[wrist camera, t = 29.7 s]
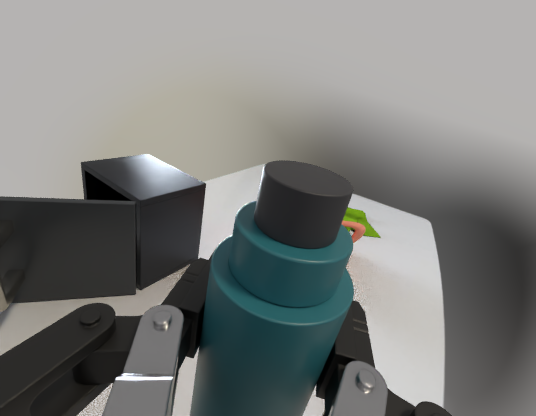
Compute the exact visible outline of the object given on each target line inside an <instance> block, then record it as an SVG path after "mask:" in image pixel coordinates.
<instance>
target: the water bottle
mask: <svg viewBox="0 0 536 416" xmlns="http://www.w3.org/2000/svg"><path fill="white" fill-rule="evenodd" d="M352 193H353V186H352V185H351V183H350V182H349V181H348V180H346V179H345V178H343V177H342V176H340V175H338V174H336V173H334V172H332V171H330V170H327V169H324V168H321V167H318V166H315V165H311V164H307V163H302V162H296V161H273V162H269V163H267V164H266V165H265V166H264V168H263V172H262V177H261V182H260V187H259V192H258V197H257V201H253V202H250V203H248V204H246V205H244V206H243V207H241V208H240V210H239V211H238V212H237V214H236V217H235V223H234V229H233V235H231V236H229V237H228V238H226V239H225V240H223V241H222V242H221V243H220V244H219V245H218V246H217V248H216V249H215V251H214V253H213V255H212V259H211V264H210V272H209V279H208V286H207V294H206V301H205V308H204V316H203V323H202V330H201V338H200V345H199V352H198V360H197V367H196V374H195V382H194V389H193V396H192V404H191V411H190V416H302V415H303V413H304V411H305V408H306V406H307V404H308V402H309V399H310V397H311V395H312V392H313V390H314V388H315V386H316V383H317V381H318V379H319V376H320V374H321V372H322V370H323V367H324V365H325V363H326V360H327V358H328V356H329V354H330V351H331V349H332V347H333V344H334V342H335V340H336V338H337V335H338V333H339V331H340V328H341V326H342V324H343V322H344V319H345V317H346V315H347V312H348V310H349V308H350V305H351V303H352V300H353V295H354V289H353V283H352V279H351V277H350V275H349V273H348V271H347V269H346V265H347V263H348V260H349V258H350V255H351V253H352V250H353V240H352V237H351V235H350V233H349V232H348V230H347V229H346V228H345V227H344V226H343V225H342V221H343V218H344V215H345V213H346V210H347V207H348V204H349V201H350V199H351V196H352Z"/></svg>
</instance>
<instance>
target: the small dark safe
mask: <svg viewBox="0 0 536 416" xmlns="http://www.w3.org/2000/svg"><path fill="white" fill-rule="evenodd" d="M81 168H82V180H83V189H84V200H111V201H135V202H136V286H137V287H138V288H139V289H140V290H142V289H144V288H145V287H147V286H149V285H151V284H153V283H155V282H157V281H159V280H161V279H162V278H164V277H166V276H168V275H170V274H172V273H174V272H176V271H178V270H179V269H181V268H183V267H185V266H187V265H189V264H191V263H193V262H194V261H196V260H198V253H199V244H200V235H201V226H202V216H203V207H204V198H205V188H206V183H204V182H202V181H200V180H198V179H196V178H194V177H192V176H190V175H188V174H186V173H184V172H182V171H180V170H178V169H176V168H174V167H172V166H170V165H168V164H166V163H164V162H162V161H161V160H158V159H157V158H155V157H153V156H151V155H149V154H145V155H137V156H128V157H120V158H112V159H103V160H95V161H87V162H81Z"/></svg>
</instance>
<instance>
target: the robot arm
mask: <svg viewBox="0 0 536 416" xmlns="http://www.w3.org/2000/svg"><path fill="white" fill-rule="evenodd" d="M213 253H214V252H213ZM212 255H213V254H212ZM212 255H211V257H210V258H209V260H206V259H203V258H199V259H198V260H196V261H194V262H193V263H191V264H190V266H189V267H188V268H187V270H186V271H185V273H184V274H183V275H182V277H181V278H180V280H179V281H178V282H177V284H176V285H175V286H174V288H173V289H172V290H171V292H170V293H169V295H168V296H167V297H166V299H165V300H164V302H163V303H162V304H161V305H159V306H155V307H153V308H151V309H149V310H148V311H146V312H145V313H144V314H143V315H141V316H115V311H114V309H113V308H112V307H111V306H109V305H107V304H103V303H92V304H88V305H84V306H82V307H80V308H78V309H76V310H74V311H73V312H71V313H70V314H68V315H66V316H65V317H63V318H61V319H60V320H58V321H56V322H55V323H53V324H52V325H50V326H48V327H47V328H45V329H43V330H42V331H40V332H39V333H37V334H35V335H34V336H32V337H30V338H29V339H27V340H25V341H24V342H22V343H21V344H19V345H17V346H16V347H14V348H12V349H11V350H9V351H7V352H6V353H4V354H3V355H1V356H0V416H76V415H78V414H79V413H80V412H81V411H82V410H83V409H84V408H85V407H86V406H87V405H88V404H89V403H91V402H92V401H93V400H94V399H95V398H96V397H97V396H98V395H99V394H100V393H101V392H102V391H103V390H105V389H106V388H107V387H108V386H109V385H110V384H111V383H114V384H113V386H112V389H111V392H110V394H109V397H108V400H107V403H106V406H105V409H104V411H103V414H102V416H172V413H173V406H174V400H175V394H176V387H177V381H178V375H179V369H180V367H181V365H182V363H183V361H184V359H185V357H186V356H187V357H190V358H194V356H195V354H196V352H197V349H198V347H199V345H200V338H201V330H202V323H203V316H204V308H205V301H206V294H207V286H208V279H209V272H210V264H211V259H212ZM316 397H319V398H322V399H325V410H324V412H323V414H322V416H452V415H450V414H449V413H448V412H447V411H446V410H445V409H443V408H442V407H440V406H439V405H437V404H434V403H432V402H426V401H425V402H421V403H419V404H418V405H417V406H416V407H415V406H413V405H412V404H410V403H408V402H407V401H405V400H403V399H402V398H400V397H398V396H397V395H395V394H394V393H393V392H391V391H390V390H389V389H388V388H387V385H386V382H385V380H384V378H383V377H382V375H381V374H380V373H379V372H378V371H377V370H376V369H375V365H374V360H373V354H372V349H371V343H370V338H369V334H368V327H367V321H366V316H365V312H364V310H363V309H362V307H361V305H360V304H359V302H357V301H353V300H352V303H351V305H350V308H349V310H348V312H347V315H346V317H345V319H344V322H343V324H342V326H341V328H340V331H339V333H338V335H337V338H336V340H335V342H334V344H333V347H332V349H331V351H330V354H329V356H328V358H327V360H326V363H325V365H324V367H323V370H322V372H321V374H320V376H319V379H318V381H317V383H316Z"/></svg>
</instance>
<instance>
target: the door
mask: <svg viewBox="0 0 536 416" xmlns="http://www.w3.org/2000/svg"><path fill="white" fill-rule="evenodd" d="M130 294H136V202H135V201H111V200H83V199H55V198H28V197H26V198H25V197H0V312H3V311H4V310H6V309H7V308H8V307H9V305H10V303H16V302H30V301H44V300H59V299H73V298H87V297H101V296H116V295H130Z"/></svg>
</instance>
